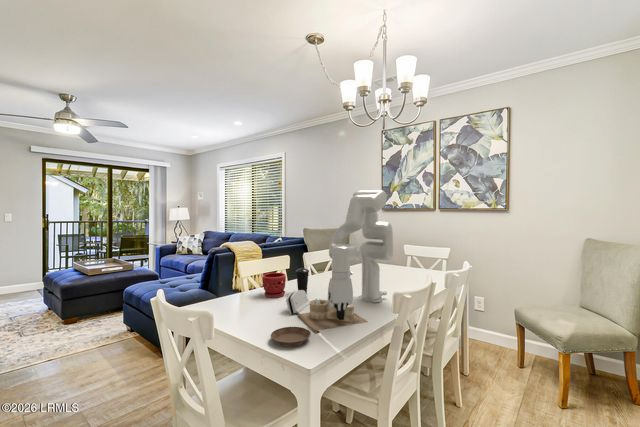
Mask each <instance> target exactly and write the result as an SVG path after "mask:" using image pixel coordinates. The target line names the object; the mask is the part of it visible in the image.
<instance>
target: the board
mask: <svg viewBox="0 0 640 427" xmlns="http://www.w3.org/2000/svg"><path fill="white" fill-rule="evenodd" d="M297 317H298V318H299V319H300V320H301V321H303V323H304V324H305V325H306V326H308V327H309V329H311V331H313V332H314V334H318V333H320V331H321V330H327V329H333V328H340V327H341V328H342V327H346V326H347V327H348V326H354V325H358V324H365V323H369V321H368V320H366V319H365V318H363V317H361V316H360V315H358V314H357V313H355V312H354V320H353V321H352V322H347V321H341V320H335V319H329V318H326V319H314V318H311V317H310V312H303V313H299V314H298V313H297Z"/></svg>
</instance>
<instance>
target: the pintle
mask: <svg viewBox="0 0 640 427" xmlns="http://www.w3.org/2000/svg"><path fill="white" fill-rule="evenodd" d="M314 300H315V303H316V304H320V298H315V299H314Z"/></svg>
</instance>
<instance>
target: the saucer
mask: <svg viewBox="0 0 640 427" xmlns="http://www.w3.org/2000/svg"><path fill="white" fill-rule="evenodd" d="M311 335H312V333H311V331H310V330H308V329H307V328H304V327H301V326H300V327H299V326H286V327H281V328H280V327H279V328H277V329H275V330H274V331H272V332H271V334H270V338H271V339H272V341H273V342H274V343H276V344H277V345H279V346H281V347H288V348H289V347H290V348H291V347H297V346H301V345H302V344H304V343H306V341H307V340H309V338H310V337H311Z"/></svg>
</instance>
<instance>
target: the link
mask: <svg viewBox="0 0 640 427" xmlns="http://www.w3.org/2000/svg"><path fill="white" fill-rule="evenodd" d="M319 299H320V298H319ZM309 301H310V300H309ZM340 306H341V303H340ZM309 313H310V317H311V318H314V319H326V318H329V319H335V320H339V319H338V318H337V309H336V308H335V307H331V306H329V304H328V299H320V304H316V303H315V299H313V300H311V301H310V305H309ZM354 313H355V306H354V305H351V304H350V305H348V306H347V307H346V310H345V316H344V320H341V321H347V322H352V321H353V320H354Z"/></svg>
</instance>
